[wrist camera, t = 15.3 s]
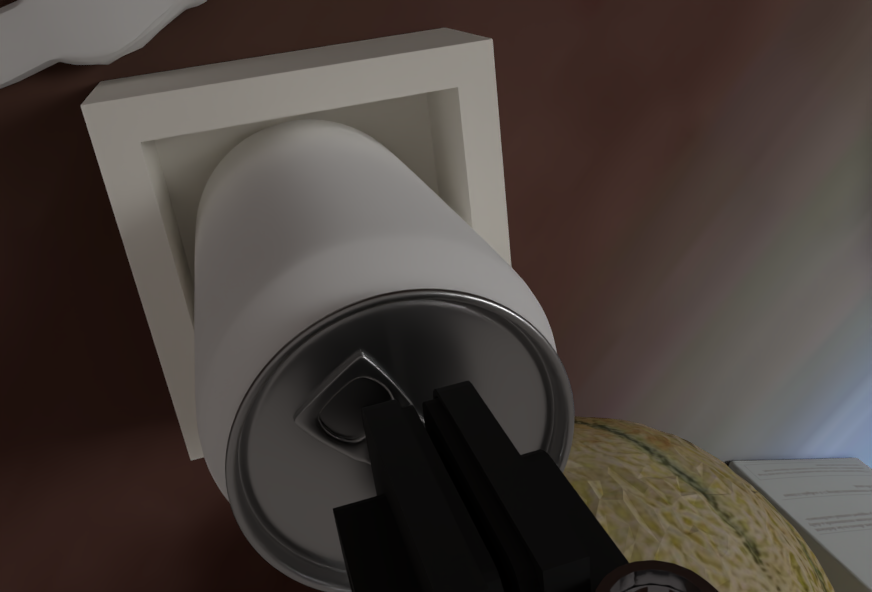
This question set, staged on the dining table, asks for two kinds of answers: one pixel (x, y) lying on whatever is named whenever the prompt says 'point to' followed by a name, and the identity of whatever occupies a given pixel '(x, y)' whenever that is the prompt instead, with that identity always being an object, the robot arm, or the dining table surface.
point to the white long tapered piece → (77, 32)
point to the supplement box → (823, 511)
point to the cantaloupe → (686, 509)
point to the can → (346, 331)
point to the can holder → (273, 104)
